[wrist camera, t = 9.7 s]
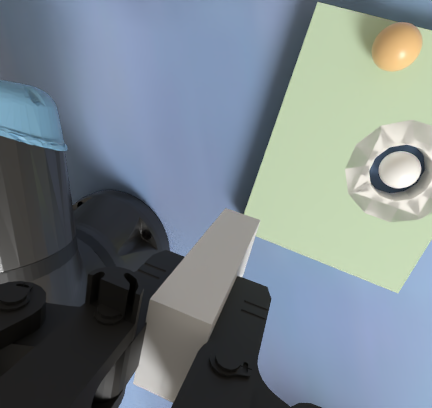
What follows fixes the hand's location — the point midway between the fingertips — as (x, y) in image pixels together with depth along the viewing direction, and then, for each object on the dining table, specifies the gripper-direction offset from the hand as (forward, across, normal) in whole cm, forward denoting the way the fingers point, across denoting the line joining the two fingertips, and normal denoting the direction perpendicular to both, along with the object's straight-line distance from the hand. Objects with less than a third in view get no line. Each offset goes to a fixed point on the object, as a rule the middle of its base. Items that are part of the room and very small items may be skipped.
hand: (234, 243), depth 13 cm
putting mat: (+23, +7, +2) cm, 24 cm away
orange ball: (+18, +6, +11) cm, 22 cm away
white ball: (+21, +10, +2) cm, 23 cm away
